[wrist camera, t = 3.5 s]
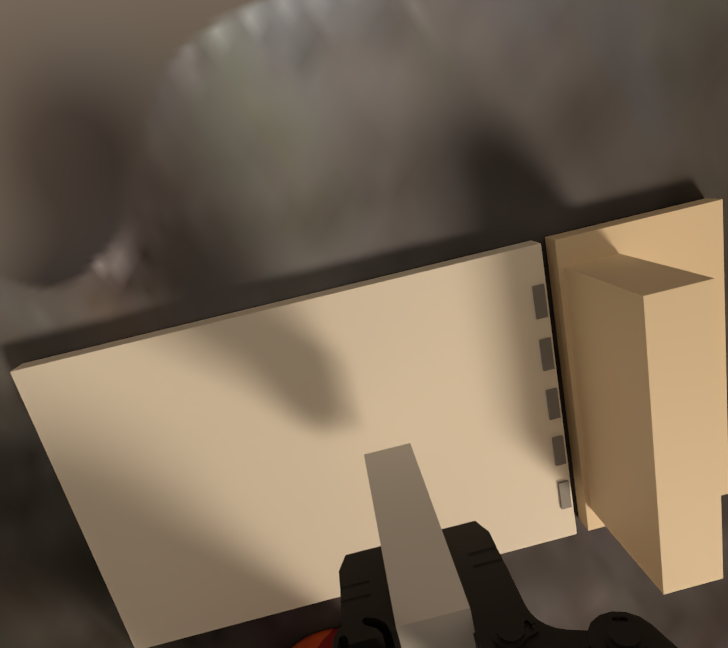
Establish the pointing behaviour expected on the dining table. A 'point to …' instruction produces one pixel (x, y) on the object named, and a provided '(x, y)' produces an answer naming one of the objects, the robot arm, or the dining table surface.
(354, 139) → the dining table surface
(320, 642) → the paper cup
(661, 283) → the stub
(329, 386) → the ticket
